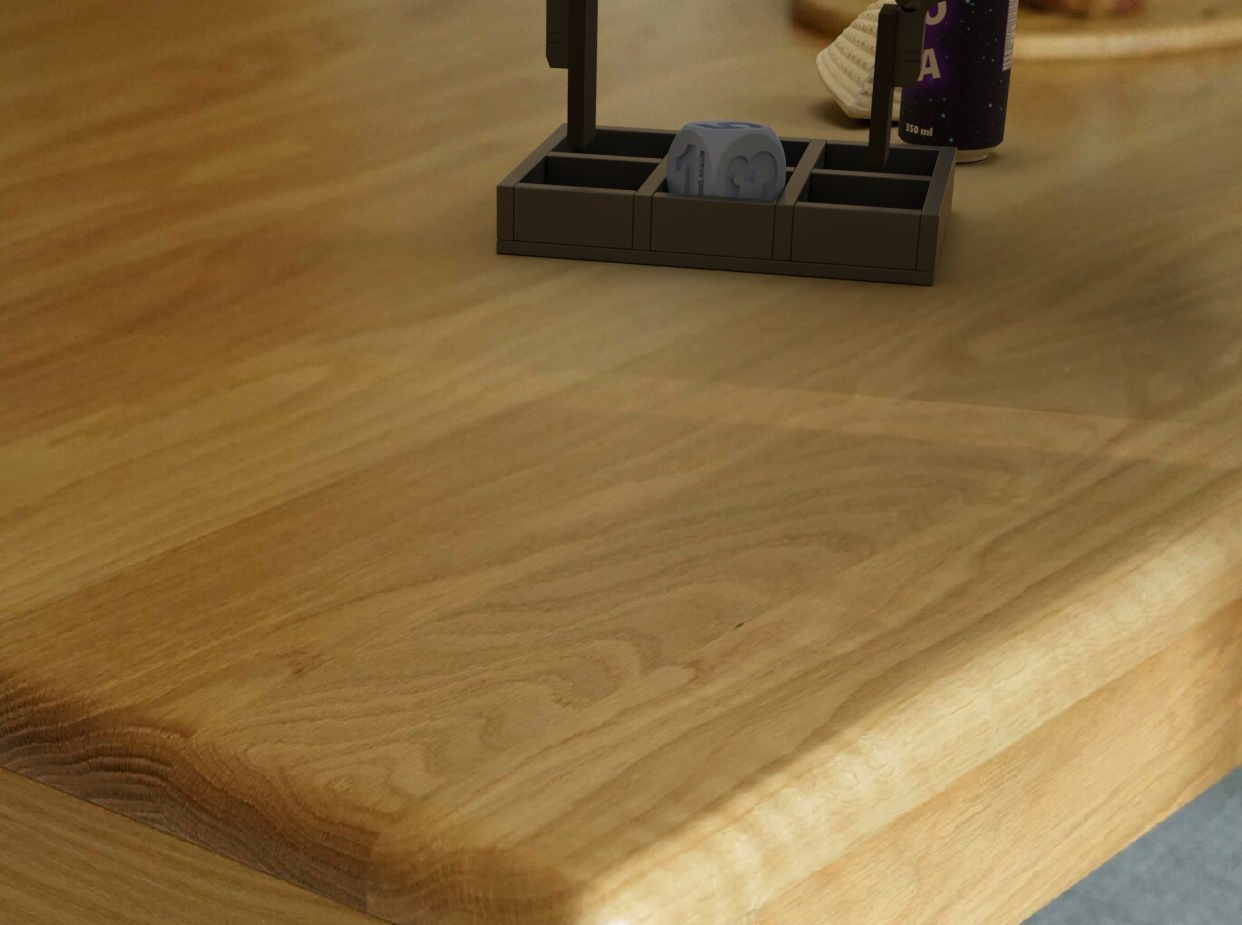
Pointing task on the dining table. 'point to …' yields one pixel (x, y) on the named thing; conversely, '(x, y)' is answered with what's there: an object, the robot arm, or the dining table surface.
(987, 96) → the beverage can
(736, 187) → the decorative dice
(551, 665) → the dining table surface
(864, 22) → the seashell
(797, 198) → the grid
